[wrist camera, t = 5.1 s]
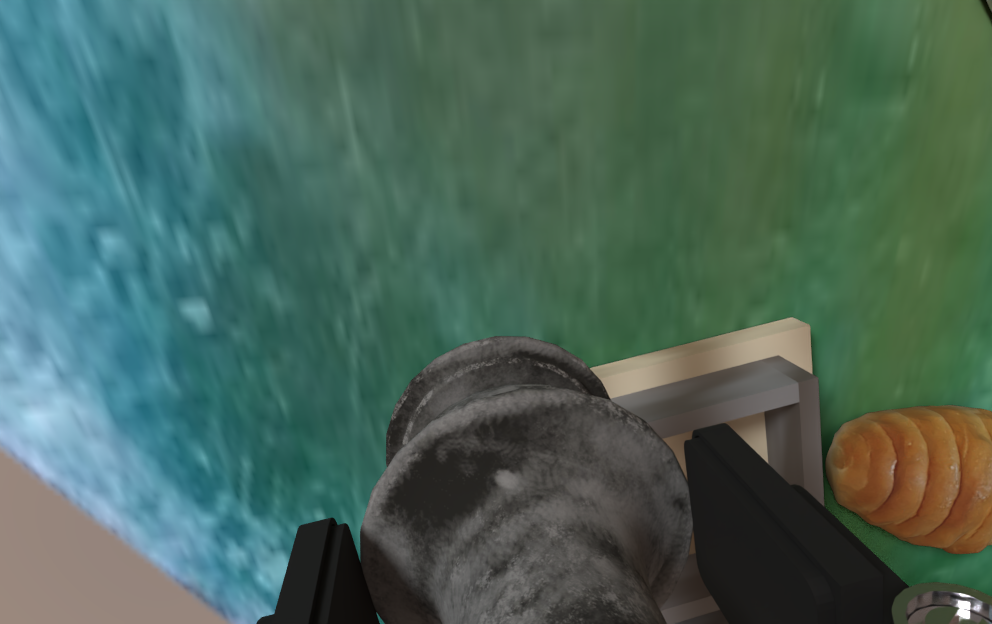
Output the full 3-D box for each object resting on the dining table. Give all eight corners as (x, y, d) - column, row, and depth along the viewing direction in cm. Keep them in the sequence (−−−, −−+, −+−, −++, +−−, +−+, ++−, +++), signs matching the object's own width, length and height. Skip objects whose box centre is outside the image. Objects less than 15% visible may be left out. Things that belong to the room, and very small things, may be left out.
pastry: (792, 511, 30) (848, 563, 26) (839, 379, 28) (905, 414, 25) (953, 529, 32) (1026, 579, 28) (1005, 406, 30) (1089, 442, 27)
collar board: (792, 317, 27) (853, 344, 23) (815, 708, 33) (865, 775, 30) (518, 386, 26) (540, 425, 22) (597, 778, 32) (624, 857, 29)
